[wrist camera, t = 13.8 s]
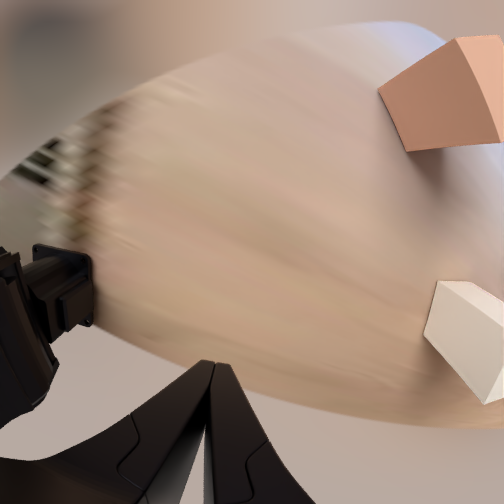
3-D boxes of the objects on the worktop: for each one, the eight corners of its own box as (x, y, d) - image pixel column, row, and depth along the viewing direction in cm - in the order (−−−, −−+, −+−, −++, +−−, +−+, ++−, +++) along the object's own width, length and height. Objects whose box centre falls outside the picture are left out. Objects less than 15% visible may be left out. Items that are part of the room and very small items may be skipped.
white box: (422, 334, 22) (483, 404, 12) (437, 280, 20) (515, 336, 11) (457, 332, 22) (517, 391, 12) (471, 281, 20) (546, 329, 11)
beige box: (406, 151, 18) (500, 142, 8) (377, 88, 17) (455, 38, 7) (445, 135, 18) (538, 124, 8) (419, 76, 17) (500, 34, 7)
